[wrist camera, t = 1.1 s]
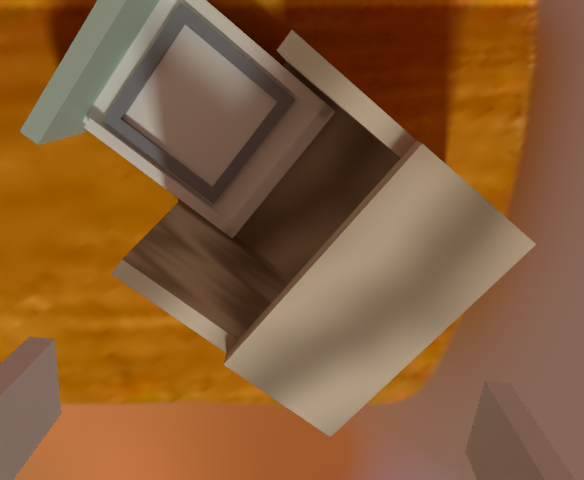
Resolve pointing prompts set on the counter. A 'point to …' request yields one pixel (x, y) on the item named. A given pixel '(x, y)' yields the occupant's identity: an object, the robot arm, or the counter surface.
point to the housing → (332, 259)
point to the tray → (182, 103)
